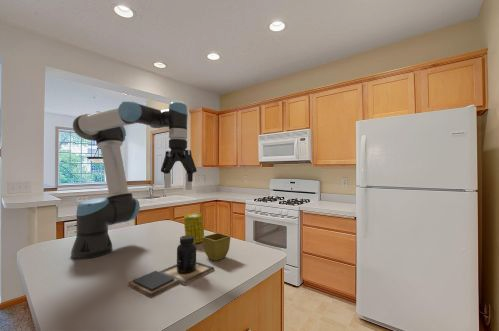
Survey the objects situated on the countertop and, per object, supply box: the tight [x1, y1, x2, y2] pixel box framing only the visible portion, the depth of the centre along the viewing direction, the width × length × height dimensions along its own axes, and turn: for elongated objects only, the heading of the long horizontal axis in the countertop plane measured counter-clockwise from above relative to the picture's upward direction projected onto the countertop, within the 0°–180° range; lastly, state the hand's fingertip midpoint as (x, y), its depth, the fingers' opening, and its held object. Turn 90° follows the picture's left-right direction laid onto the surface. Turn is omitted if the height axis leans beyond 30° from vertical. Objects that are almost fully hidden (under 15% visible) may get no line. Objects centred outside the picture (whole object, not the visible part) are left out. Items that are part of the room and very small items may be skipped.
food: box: [183, 212, 205, 245], centre depth 119 cm, size 15×12×10 cm
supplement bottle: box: [176, 234, 197, 274], centre depth 84 cm, size 7×7×12 cm
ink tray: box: [127, 270, 179, 298], centre depth 75 cm, size 12×10×1 cm
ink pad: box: [132, 270, 174, 291], centre depth 75 cm, size 10×8×1 cm
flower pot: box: [202, 232, 231, 261], centre depth 97 cm, size 9×9×9 cm
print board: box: [158, 261, 215, 286], centre depth 84 cm, size 14×14×1 cm
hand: (177, 189), depth 99 cm, fingers open, 13 cm apart
